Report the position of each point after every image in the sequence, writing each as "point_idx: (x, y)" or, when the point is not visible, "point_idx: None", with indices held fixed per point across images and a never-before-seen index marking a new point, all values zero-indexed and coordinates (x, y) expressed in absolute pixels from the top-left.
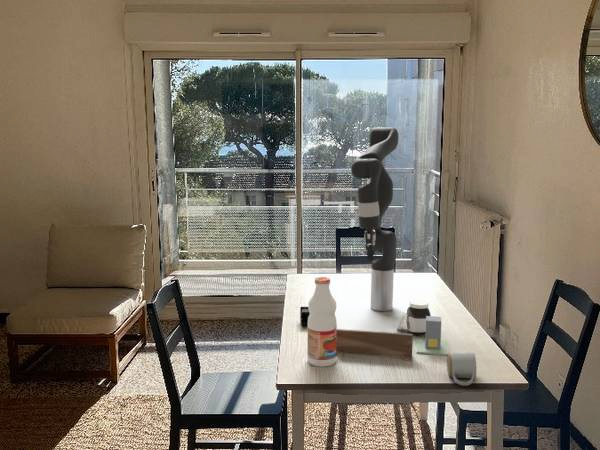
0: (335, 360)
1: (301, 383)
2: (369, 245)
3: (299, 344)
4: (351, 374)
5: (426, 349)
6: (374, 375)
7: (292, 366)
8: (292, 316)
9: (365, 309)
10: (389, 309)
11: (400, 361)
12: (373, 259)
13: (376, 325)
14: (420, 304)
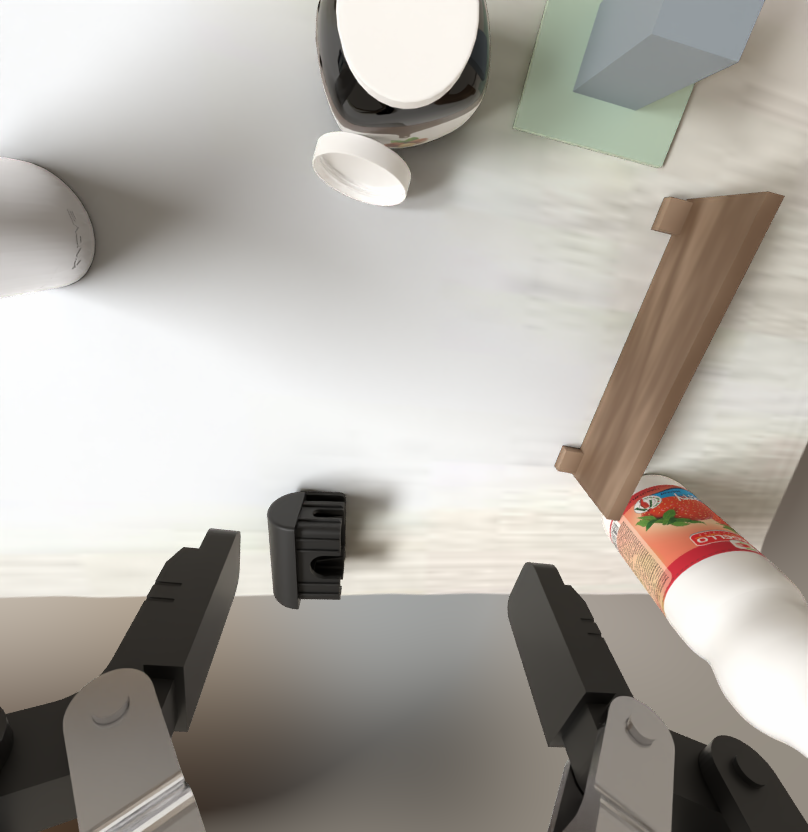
0: (671, 479)
1: None
2: (188, 713)
3: (500, 561)
4: (756, 436)
5: (649, 107)
6: (789, 370)
7: None
8: (239, 584)
9: (82, 316)
10: (65, 187)
11: None
12: (556, 568)
13: (311, 294)
14: (459, 17)
